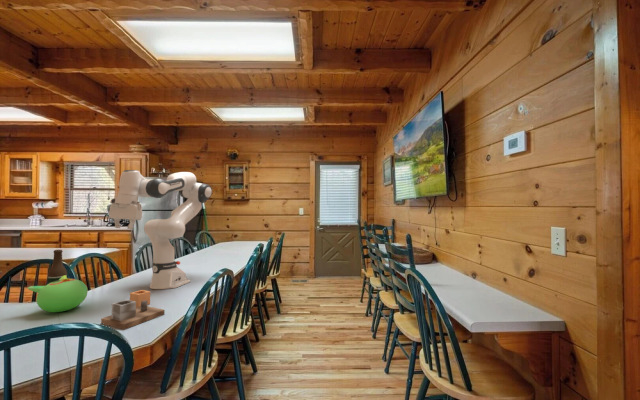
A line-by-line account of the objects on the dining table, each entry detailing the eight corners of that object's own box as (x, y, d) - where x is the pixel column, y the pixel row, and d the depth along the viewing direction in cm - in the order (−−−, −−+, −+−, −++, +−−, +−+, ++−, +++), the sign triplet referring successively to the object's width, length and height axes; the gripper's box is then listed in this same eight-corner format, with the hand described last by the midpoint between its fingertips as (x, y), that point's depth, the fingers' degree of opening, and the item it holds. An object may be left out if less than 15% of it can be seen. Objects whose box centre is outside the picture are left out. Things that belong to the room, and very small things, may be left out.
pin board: (142, 309, 141) (142, 292, 141) (164, 314, 136) (164, 296, 136) (101, 323, 125) (101, 303, 125) (124, 329, 119) (124, 308, 119)
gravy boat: (56, 319, 128) (57, 283, 128) (24, 315, 132) (24, 281, 132) (95, 305, 146) (96, 274, 146) (66, 302, 149) (67, 272, 149)
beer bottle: (44, 300, 152) (45, 251, 153) (50, 295, 159) (51, 249, 160) (63, 298, 155) (64, 250, 156) (69, 294, 163) (70, 248, 163)
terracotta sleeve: (141, 302, 152) (141, 289, 152) (150, 303, 149) (150, 291, 149) (129, 305, 146) (130, 293, 146) (138, 307, 144) (138, 294, 144)
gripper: (147, 202, 155) (143, 229, 153) (120, 201, 163) (117, 227, 162) (135, 200, 149) (131, 229, 147) (108, 199, 157) (104, 227, 156)
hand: (123, 228), depth 155 cm, fingers open, 8 cm apart
